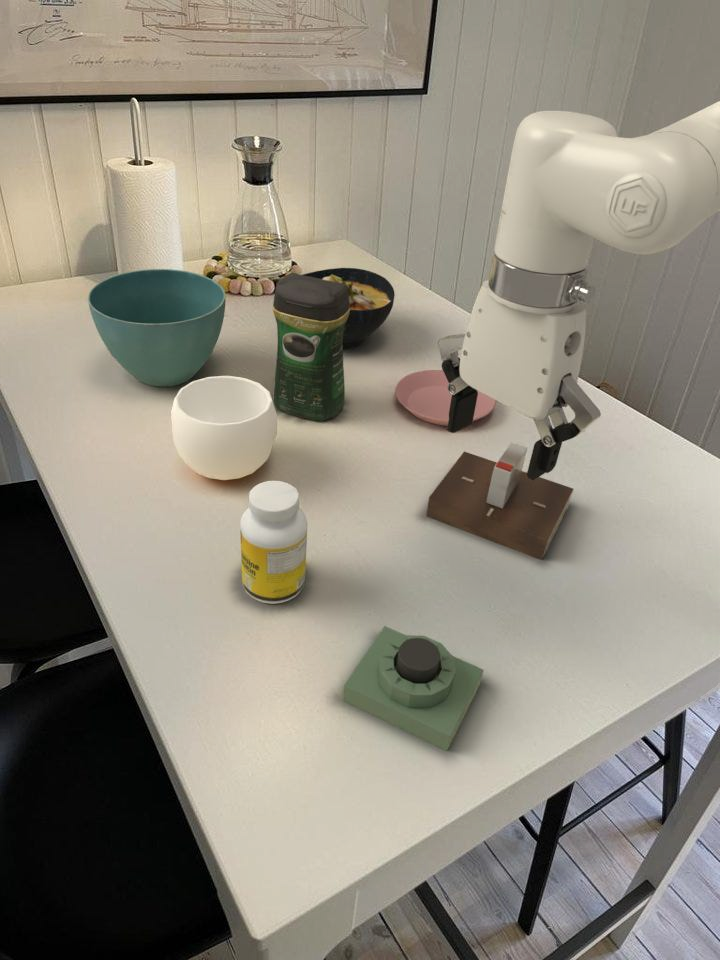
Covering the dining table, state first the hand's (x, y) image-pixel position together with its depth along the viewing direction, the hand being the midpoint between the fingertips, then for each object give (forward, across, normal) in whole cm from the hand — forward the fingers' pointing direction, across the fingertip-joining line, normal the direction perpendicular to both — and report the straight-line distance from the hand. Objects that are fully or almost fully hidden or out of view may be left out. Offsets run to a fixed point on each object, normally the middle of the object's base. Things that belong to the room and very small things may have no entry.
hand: (497, 449), depth 72 cm
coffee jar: (+16, +36, -7) cm, 40 cm away
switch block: (+15, -7, +17) cm, 24 cm away
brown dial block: (+15, +4, -10) cm, 19 cm away
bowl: (+16, +49, -25) cm, 57 cm away
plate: (+16, +24, -23) cm, 37 cm away
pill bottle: (+16, +11, +18) cm, 26 cm away
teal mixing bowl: (+16, +56, +4) cm, 58 cm away
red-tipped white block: (+12, +4, -10) cm, 16 cm away
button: (+12, -7, +17) cm, 22 cm away
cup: (+16, +31, +10) cm, 36 cm away
